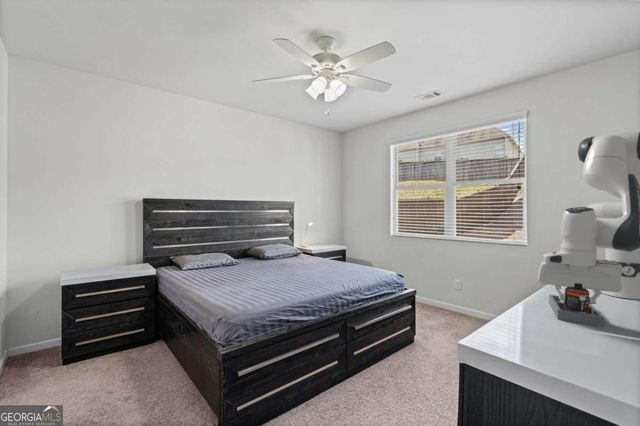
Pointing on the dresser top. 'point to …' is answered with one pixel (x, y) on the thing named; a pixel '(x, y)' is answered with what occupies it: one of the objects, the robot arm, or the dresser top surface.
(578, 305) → the supplement bottle
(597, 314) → the divided tray
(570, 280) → the robot arm
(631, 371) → the dresser top surface
